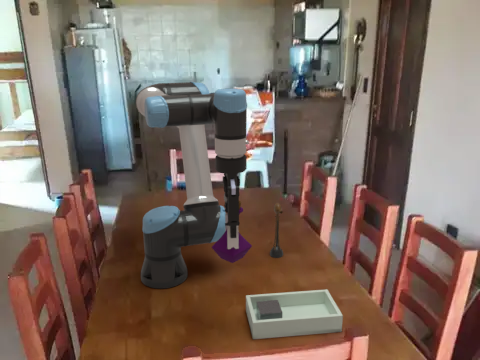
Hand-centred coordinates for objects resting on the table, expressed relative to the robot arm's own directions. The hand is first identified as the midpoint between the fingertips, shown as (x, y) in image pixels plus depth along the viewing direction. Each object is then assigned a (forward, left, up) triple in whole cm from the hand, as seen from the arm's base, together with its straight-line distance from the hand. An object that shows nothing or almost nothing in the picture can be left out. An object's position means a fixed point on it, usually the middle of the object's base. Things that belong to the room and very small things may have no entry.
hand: (231, 242), depth 112 cm
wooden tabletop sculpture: (+21, +39, -25) cm, 51 cm away
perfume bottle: (0, 0, -5) cm, 5 cm away
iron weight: (+10, 0, -24) cm, 26 cm away
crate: (+17, 0, -25) cm, 30 cm away
